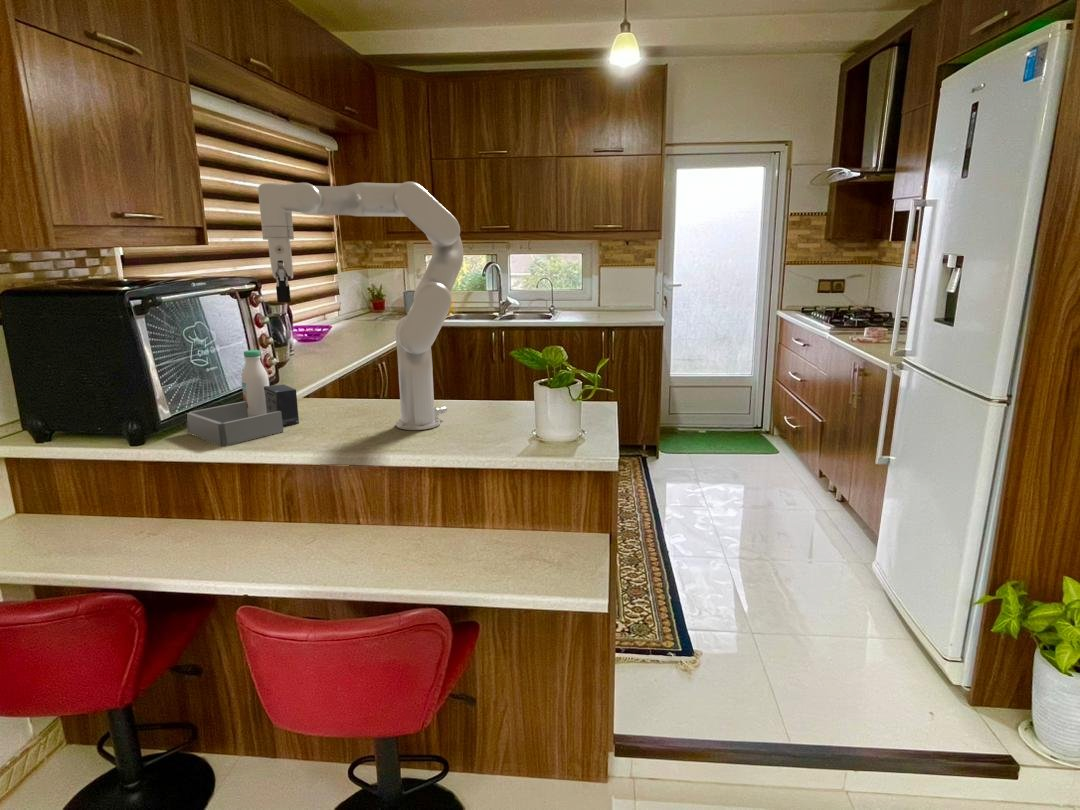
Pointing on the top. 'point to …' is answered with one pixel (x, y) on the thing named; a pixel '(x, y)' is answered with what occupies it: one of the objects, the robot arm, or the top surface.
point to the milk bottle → (254, 383)
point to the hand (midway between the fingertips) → (284, 300)
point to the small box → (282, 402)
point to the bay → (232, 424)
